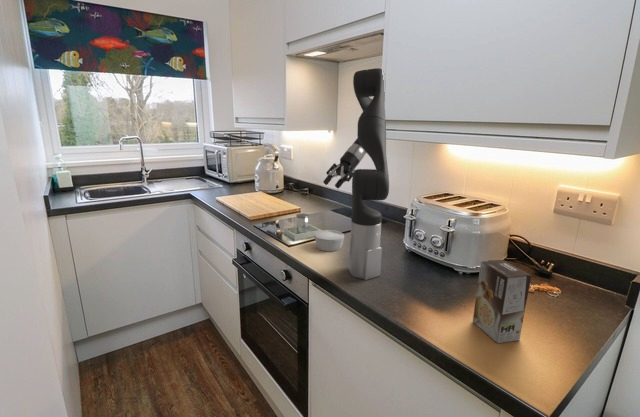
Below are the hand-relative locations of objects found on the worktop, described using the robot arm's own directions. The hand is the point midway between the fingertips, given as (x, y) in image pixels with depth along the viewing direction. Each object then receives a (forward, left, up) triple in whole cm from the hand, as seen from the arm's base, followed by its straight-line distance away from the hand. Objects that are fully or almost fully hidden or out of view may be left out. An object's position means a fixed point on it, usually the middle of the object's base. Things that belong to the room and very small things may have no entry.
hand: (330, 185), depth 144 cm
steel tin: (+1, +13, -20) cm, 23 cm away
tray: (+1, +13, -20) cm, 24 cm away
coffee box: (-80, +7, -20) cm, 83 cm away
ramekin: (-16, +11, -21) cm, 28 cm away
